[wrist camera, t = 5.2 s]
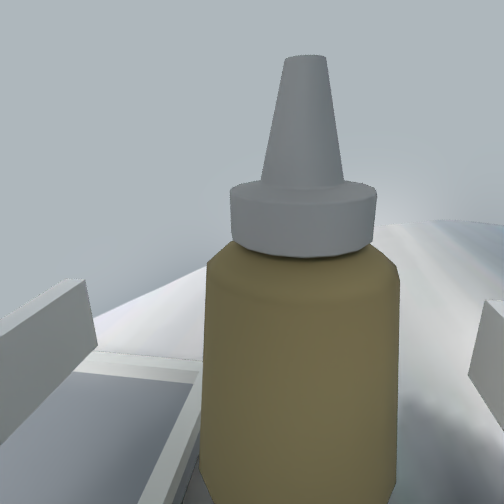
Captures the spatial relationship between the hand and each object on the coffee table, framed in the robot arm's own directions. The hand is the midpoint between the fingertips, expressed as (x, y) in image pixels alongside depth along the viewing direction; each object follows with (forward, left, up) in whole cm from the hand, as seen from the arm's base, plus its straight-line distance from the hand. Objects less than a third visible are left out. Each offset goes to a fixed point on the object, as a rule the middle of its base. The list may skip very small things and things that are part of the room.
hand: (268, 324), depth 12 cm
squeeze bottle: (-1, -1, -10) cm, 10 cm away
